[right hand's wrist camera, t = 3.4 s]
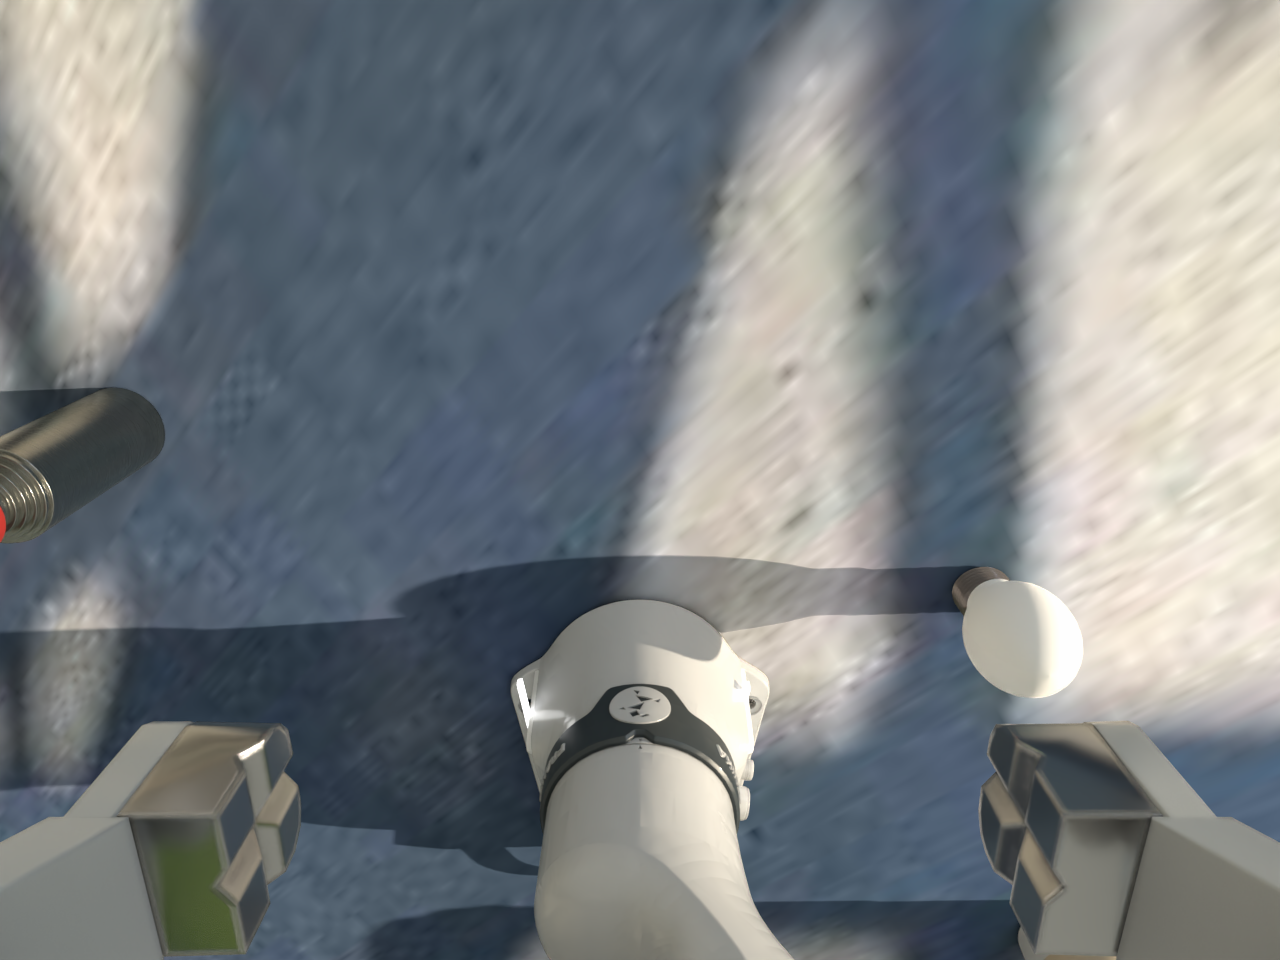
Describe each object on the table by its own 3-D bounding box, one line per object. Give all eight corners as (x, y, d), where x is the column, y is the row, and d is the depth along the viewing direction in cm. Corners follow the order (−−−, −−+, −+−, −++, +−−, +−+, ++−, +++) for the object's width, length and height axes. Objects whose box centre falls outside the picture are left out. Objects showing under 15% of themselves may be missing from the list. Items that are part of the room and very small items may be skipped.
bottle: (123, 481, 61) (-50, 597, 45) (62, 417, 59) (-139, 514, 44) (182, 438, 60) (25, 541, 44) (121, 371, 58) (-64, 454, 43)
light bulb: (925, 626, 64) (980, 719, 54) (945, 540, 62) (1006, 621, 52) (1018, 634, 65) (1090, 728, 54) (1042, 548, 62) (1122, 630, 52)
